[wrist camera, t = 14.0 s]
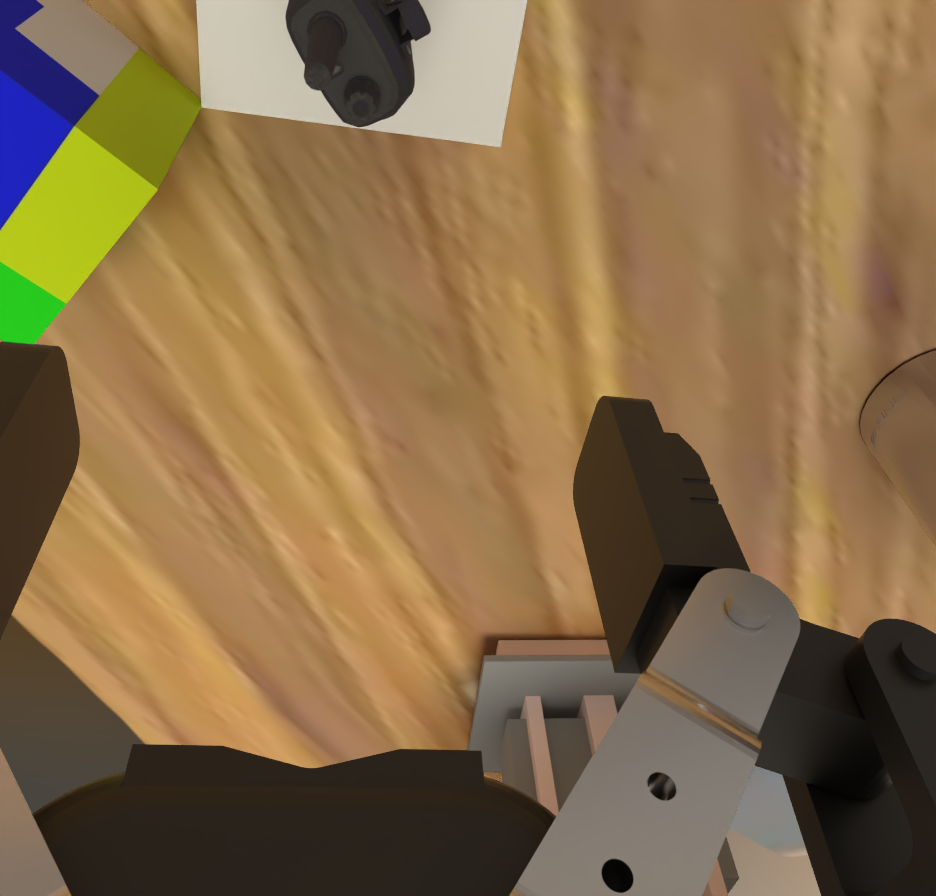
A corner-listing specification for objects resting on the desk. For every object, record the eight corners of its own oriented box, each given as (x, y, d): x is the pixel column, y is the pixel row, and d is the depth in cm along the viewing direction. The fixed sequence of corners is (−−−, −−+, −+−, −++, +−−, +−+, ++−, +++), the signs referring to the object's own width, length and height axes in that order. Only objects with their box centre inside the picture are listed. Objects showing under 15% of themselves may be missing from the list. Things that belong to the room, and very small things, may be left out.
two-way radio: (289, -53, 34) (238, 47, 22) (383, -112, 33) (379, -38, 21) (360, 73, 37) (347, 215, 26) (447, 22, 36) (474, 148, 25)
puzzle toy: (-9, -78, 33) (-127, -27, 26) (204, 102, 38) (158, 189, 31) (-114, 105, 37) (-242, 195, 30) (91, 245, 42) (25, 354, 35)
